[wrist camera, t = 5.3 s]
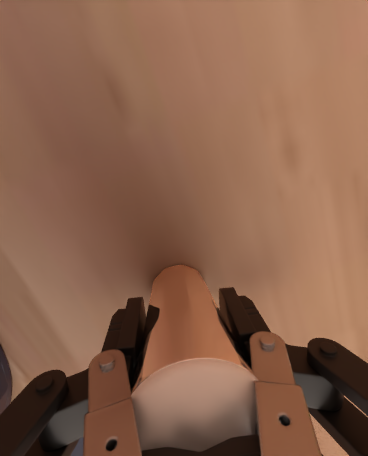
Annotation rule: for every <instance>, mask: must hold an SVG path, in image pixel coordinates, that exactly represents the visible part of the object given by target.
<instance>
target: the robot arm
mask: <svg viewBox="0 0 368 456" xmlns="http://www.w3.org/2000/svg"><path fill="white" fill-rule="evenodd" d="M219 305H220V312H221V314H222V316H223V318H224V320H225V322H226V324H227V326H228V328H229V329H230V331H231V332H232V334H233V335H234V337H235V339H236V341H237V342H238V344H239V346H240V347H241V349H242V351H243V353H244V354H245V356H246V358H247V360H248V361H249V363H250V365H251V367H252V371H253V373H254V375H255V377H256V378H257V379H258V381H257V380H254V396H255V434H253V435H246V436H239V437H232V438H230V439H227V440H225V441H223V442H221V443H219V444H217V445H215V446H213V447H211V448H209V449H206V450H204V451H201V452H198V451H191V450H185V449H179V448H173V447H163V448H156V449H149V450H142V451H141V447H140V441H139V435H138V429H137V424H136V418H135V412H134V407H133V401H132V396H131V389H130V384H131V380H132V376H133V372H134V368H135V364H136V360H137V356H138V352H139V348H140V344H141V340H142V336H143V331H144V326H145V321H146V314H145V307H144V300H143V297H138V298H129V299H128V302H127V306H126V309H118V311H117V312H116V313H115V314H114V315H113V316H112V319H111V322H110V326H109V329H108V332H107V335H106V338H105V342H104V345H103V348H102V351H101V353H100V354H98V355H97V356H95V357H94V358H93V359H92V361H91V362H90V364H89V368H88V369H86V370H84V371H82V372H80V373H77V374H75V375H72V376H70V377H67V378H66V375H65V373H64V372H63V371H60V370H51V371H47V372H45V373H42V374H40V375H39V376H37V377H36V378H34V379H33V380H32V381H31V382H30V383H29V384H28V385H27V386H26V387H25V388H24V389H23V391H22V392H21V393H20V394H19V395H18V396H17V397H16V398H15V399H14V400H13V401H12V402H11V403H10V405H9V406H8V407H7V408H6V409H5V410H4V411H3V412H2V413H1V414H0V456H71V454H72V452H73V450H74V449H75V447H76V445H77V443H78V441H79V439H80V438H82V437H83V456H322V455H321V452H320V448H319V445H318V441H317V438H316V434H315V431H314V428H313V424H312V421H311V417H310V414H311V415H312V416H313V417H314V418H315V419H316V420H317V421H318V422H319V423H320V425H321V426H322V427H323V428H324V429H325V430H326V431H327V432H328V433H329V434H330V435H331V436H332V437H333V439H334V440H335V441H336V442H337V443H338V444H339V445H340V446H341V447H342V448H343V449H344V450H345V451H346V452H347V454H348V455H349V456H368V417H366V416H365V415H364V414H363V413H362V412H361V411H360V410H358V409H357V408H356V407H355V406H354V405H353V404H352V403H350V402H349V401H348V400H347V399H346V398H345V397H344V395H345V396H346V397H347V398H348V399H349V400H350V401H351V402H353V403H354V404H355V405H356V406H357V407H358V408H359V409H361V410H362V411H363V412H364V413H365V414H366V415H367V416H368V363H366V362H365V361H363V360H362V359H360V358H359V357H358V356H356V355H355V354H353V353H352V352H350V351H349V350H347V349H346V348H345V347H343V346H342V345H340V344H339V343H337V342H335V341H333V340H330V339H326V338H315V339H312V340H310V341H309V343H308V347H307V348H306V347H298V346H291V345H288V344H285V342H284V341H283V339H282V338H281V337H279V336H278V335H276V334H274V333H271V331H270V330H269V328H268V327H267V325H266V323H265V322H264V320H263V318H262V317H261V315H260V314H259V312H258V310H257V308H256V307H255V305H254V303H253V302H252V300H250V299H249V298H247V297H246V296H238V295H237V293H236V291H235V289H234V288H233V287H230V288H221V289H219ZM309 413H310V414H309Z"/></svg>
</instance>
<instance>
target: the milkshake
mask: <svg viewBox="0 0 368 456" xmlns="http://www.w3.org/2000/svg"><path fill="white" fill-rule="evenodd" d="M254 380H257V381H258V379H257V378H256V377H255V375H254V373H253V371H252V367H251V365H250V363H249V361H248V360H247V358H246V356H245V354H244V353H243V351H242V349H241V347H240V346H239V344H238V342H237V341H236V339H235V337H234V335H233V334H232V332H231V331H230V329H229V328H228V326H227V324H226V322H225V320H224V318H223V316H222V314H221V312H220V310H219V309H218V307H217V305H216V303H215V301H214V299H213V297H212V295H211V293H210V291H209V289H208V287H207V285H206V283H205V282H204V280H203V279H202V277H201V275H200V274H199V272H198V271H197V270H196V269H193V268H191V267H188V266H185V265H183V264H180V265H176V266H171V267H167V268H165V269H164V270H163V271H162V272H161V273H160V274H159V275H158V276H157V277H156V278H155V279H154V281H153V286H152V291H151V296H150V301H149V306H148V311H147V316H146V321H145V326H144V331H143V336H142V340H141V344H140V348H139V352H138V356H137V360H136V364H135V368H134V372H133V376H132V380H131V384H130V389H131V396H132V401H133V407H134V412H135V418H136V424H137V429H138V435H139V441H140V447H141V451H142V450H149V449H156V448H163V447H173V448H179V449H185V450H191V451H198V452H201V451H204V450H206V449H209V448H211V447H213V446H215V445H217V444H219V443H221V442H223V441H225V440H227V439H230V438H232V437H239V436H246V435H253V434H255V396H254ZM321 455H322V454H321ZM322 456H323V455H322Z"/></svg>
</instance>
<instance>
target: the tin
mask: <svg viewBox="0 0 368 456" xmlns="http://www.w3.org/2000/svg"><path fill="white" fill-rule="evenodd" d="M11 393H12V381H11V373H10V369H9V365H8V362H7V359H6V357H5V355H4V352H3V350H2V348H1V346H0V414H1V413H2V412H3V411H4V410H5V409H6V408H7V407H8V406H9V405H10V402H11Z"/></svg>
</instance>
